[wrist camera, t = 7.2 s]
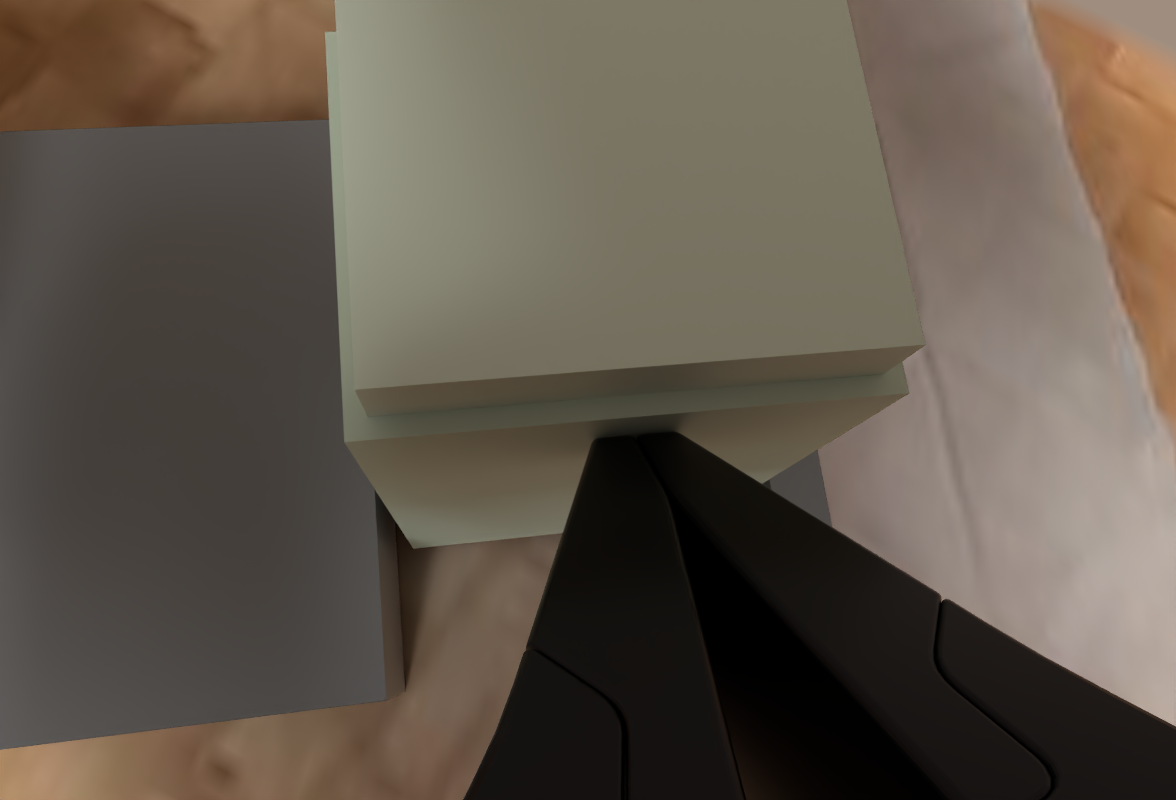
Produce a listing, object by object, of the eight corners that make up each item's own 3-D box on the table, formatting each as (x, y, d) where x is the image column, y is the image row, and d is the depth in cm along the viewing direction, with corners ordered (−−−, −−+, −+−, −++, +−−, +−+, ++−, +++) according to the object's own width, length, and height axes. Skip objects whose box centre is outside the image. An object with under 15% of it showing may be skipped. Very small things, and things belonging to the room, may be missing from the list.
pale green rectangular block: (706, 518, 15) (952, 365, 7) (413, 548, 15) (328, 417, 7) (673, 303, 16) (858, -39, 8) (398, 322, 16) (308, -31, 8)
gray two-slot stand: (783, 643, 15) (853, 640, 12) (-433, 797, 13) (-697, 838, 10) (707, 193, 18) (751, 103, 15) (-340, 247, 15) (-534, 152, 12)
